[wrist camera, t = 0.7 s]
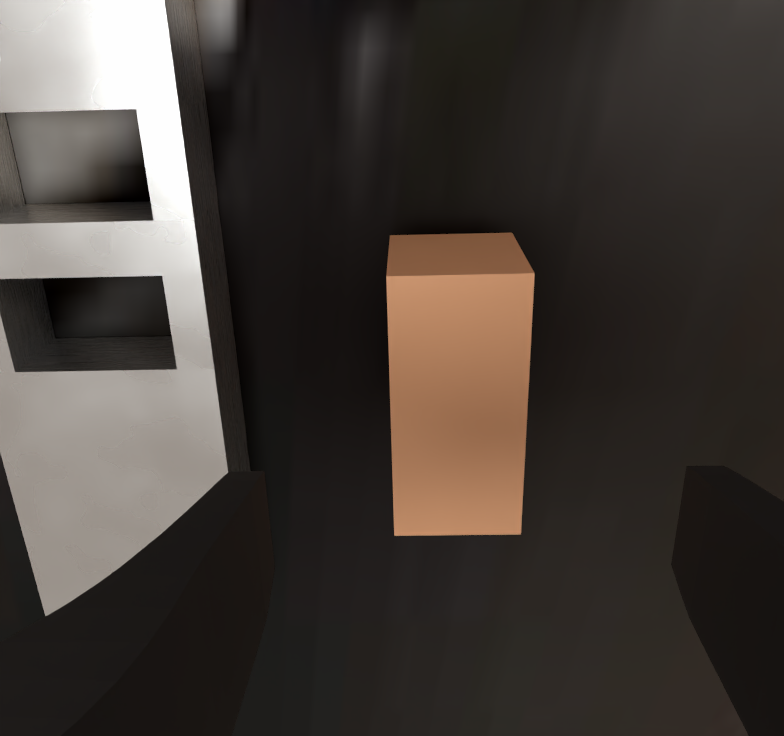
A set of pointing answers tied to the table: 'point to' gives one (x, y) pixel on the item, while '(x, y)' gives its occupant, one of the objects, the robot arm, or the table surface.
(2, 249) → the rail
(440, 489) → the orange block
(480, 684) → the table surface
